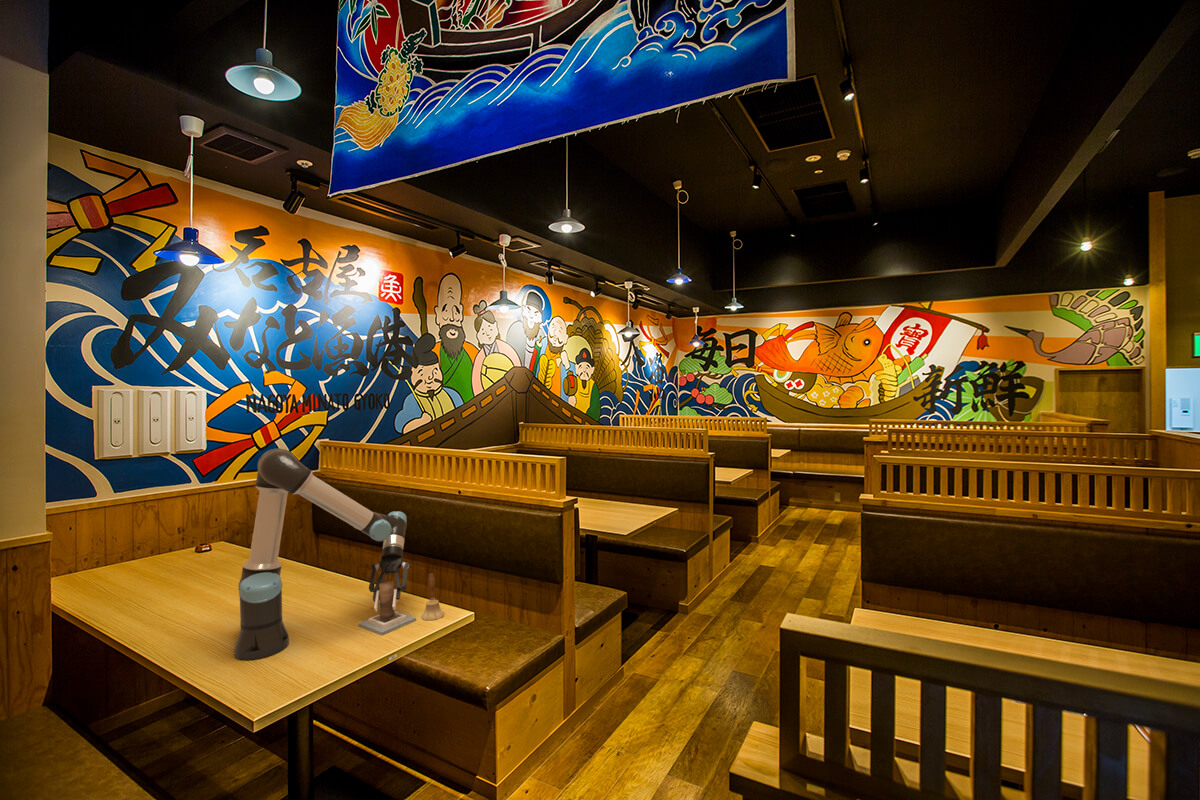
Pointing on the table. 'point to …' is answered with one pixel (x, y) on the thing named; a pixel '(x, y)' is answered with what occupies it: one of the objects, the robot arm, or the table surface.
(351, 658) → the table surface
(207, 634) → the table surface
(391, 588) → the walnut pin
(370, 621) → the board
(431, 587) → the hand bell
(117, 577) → the table surface
